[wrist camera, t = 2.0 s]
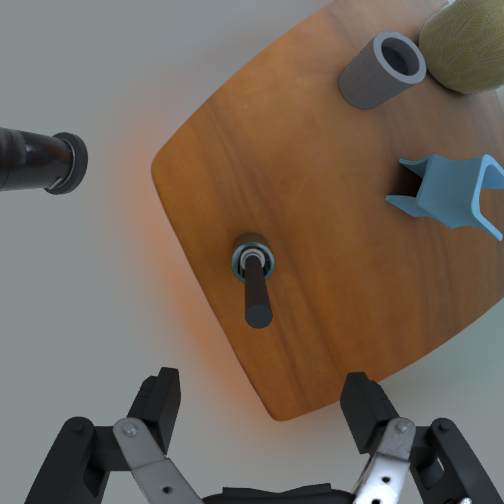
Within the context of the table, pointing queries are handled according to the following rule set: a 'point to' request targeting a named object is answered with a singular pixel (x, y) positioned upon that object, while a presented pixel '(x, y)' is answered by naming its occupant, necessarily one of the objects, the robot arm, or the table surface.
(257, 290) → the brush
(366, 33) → the table surface
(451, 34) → the vase
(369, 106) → the cup
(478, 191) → the blue bent piece
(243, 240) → the holder
